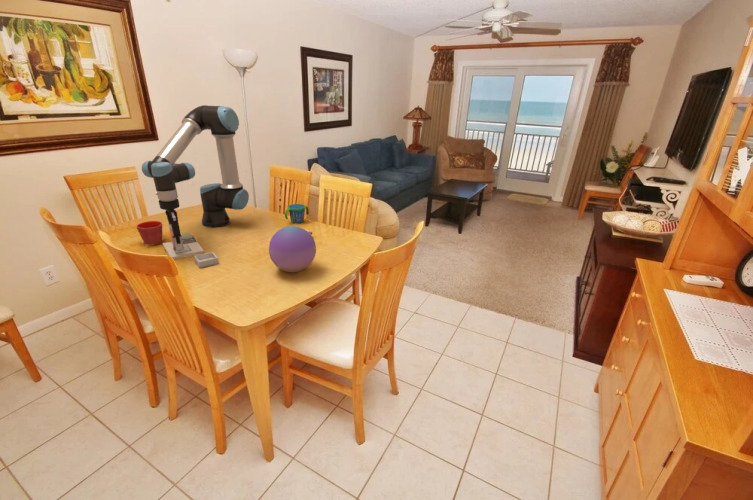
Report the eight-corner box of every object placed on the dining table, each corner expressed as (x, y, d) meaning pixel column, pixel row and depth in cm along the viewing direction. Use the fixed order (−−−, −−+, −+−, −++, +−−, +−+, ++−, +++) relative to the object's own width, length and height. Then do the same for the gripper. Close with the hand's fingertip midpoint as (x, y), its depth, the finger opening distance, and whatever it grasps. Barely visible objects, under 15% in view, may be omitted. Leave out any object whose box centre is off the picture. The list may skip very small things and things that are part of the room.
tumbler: (182, 246, 161) (177, 222, 156) (184, 249, 158) (179, 225, 153) (172, 248, 159) (167, 224, 154) (174, 251, 156) (169, 227, 151)
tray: (213, 257, 159) (212, 251, 158) (218, 263, 154) (217, 257, 152) (195, 261, 155) (193, 255, 153) (199, 268, 149) (198, 262, 148)
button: (191, 235, 175) (190, 232, 175) (193, 238, 172) (193, 235, 171) (180, 237, 172) (179, 234, 172) (182, 241, 169) (182, 237, 168)
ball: (274, 283, 140) (270, 238, 132) (267, 263, 156) (263, 222, 148) (321, 276, 147) (320, 233, 139) (310, 257, 164) (309, 218, 156)
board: (193, 239, 178) (192, 235, 177) (204, 252, 164) (203, 247, 163) (163, 245, 169) (161, 240, 168) (171, 259, 155) (170, 254, 154)
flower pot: (154, 247, 167) (150, 229, 163) (135, 245, 169) (130, 226, 165) (170, 239, 176) (167, 222, 172) (152, 237, 178) (148, 219, 174)
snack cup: (289, 226, 202) (288, 210, 198) (282, 221, 209) (280, 205, 205) (312, 222, 211) (312, 206, 206) (305, 217, 218) (304, 202, 214)
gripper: (155, 195, 153) (166, 243, 162) (161, 205, 141) (173, 256, 150) (174, 193, 157) (183, 240, 166) (181, 202, 145) (191, 252, 154)
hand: (178, 247), depth 158 cm, fingers closed on tumbler, 4 cm apart
